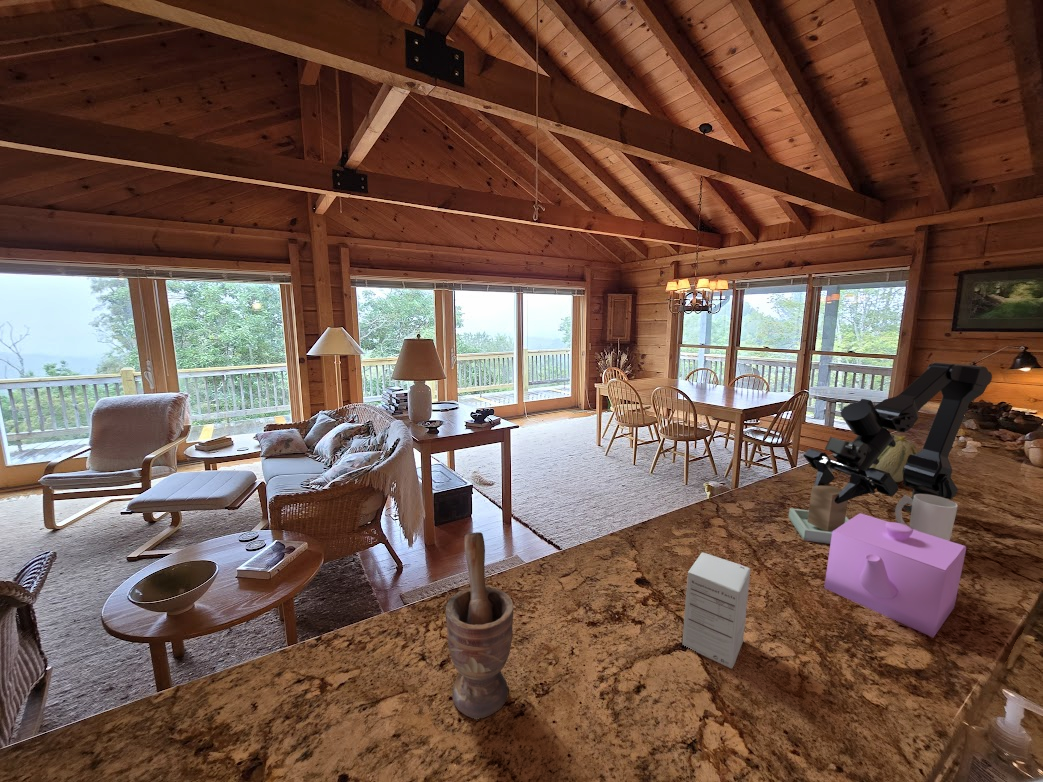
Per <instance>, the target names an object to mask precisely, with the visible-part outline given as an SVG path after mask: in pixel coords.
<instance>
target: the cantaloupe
mask: <svg viewBox="0 0 1043 782" xmlns="http://www.w3.org/2000/svg"><path fill="white" fill-rule="evenodd" d="M891 435H894V440H895V442H896V445H895V447H892V446H887V447H886V448H885V450H884V451H883V452H882V453H881V454H880V456H879V457H878V458H877V459H878V460H879V463H878V464H877V465H875V464H872V465H871V466H870V468H875V469H878V470H882V471H885V472H888V473H890V475H891V476H892V478H893V479H894V481H895V482H896V483H902V482H903V469H904V466H905V465H906V463H907V459H908V456H909V455H911V454H914V455H915V454H917V453H918V452H920V451H919V449H918V447H917V446H916V445H914V443H913V442H911V441H910V440H908V439H907V438H908V437H907V435H902V436H900V435H896V434H892V433H891Z"/></svg>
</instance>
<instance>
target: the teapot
mask: <svg viewBox="0 0 1043 782" xmlns="http://www.w3.org/2000/svg"><path fill="white" fill-rule="evenodd" d="M906 525H907V524H906ZM906 525H903V524H900V523H897V522H894V521H893V522H891V521H886V520H884V519H880V518H877V517H875V516H871V515H868V514H865V513H861V512H859V513H858V514H857V515H855V516H854V517H852V518H850V519H849V521H847V522H846V523H844V524H843V525H841V526H840V527H838V528H837V529H835V530H833V531H832V537H831V544H829V551H828V559H827V567H826V573H825V580H824V586H823V587H824V589H825V590H827V591H830V592H832V593H834V594H836V595H839V596H841V597H843V598H845V599H848V600H849V601H852V602H854V603H856V604H858V605H859V606H863V607H865V608H867V609H869V610H871V611H874V612H875V613H878V614H880V615H882V616H884V617H886V618H889V619H891V620H893V621H895V620H896V621H895V622H897V623H900V624H901V625H904V626H906V627H907V628H911V629H913V630H915V631H917V632H919V633H922V634H924V635H926V636H928V637H931V638H933V639H934V637H935V636H936V634H937V633H938V632H939V630H940V629H941V627H942V626H943V624H945V622H946V620H947V619H948V617H949V615H951V613H952V612H953V610H954V609H955V606H956V601H957V596H958V592H959V591H958V590H959V585H960V580H961V576H962V571H963V566H964V562H965V561H964V560H965V556H966V551H967V546H966V545H964V544H963V545H962V544H960V543H957V542H953V541H951V540H950V541H948V540H945V539H941V538H938V537H935V536H932V535H929V534H926V533H922V532H919V531H917V530H914V529H912V528H910V527H908V526H909V525H908V526H906Z"/></svg>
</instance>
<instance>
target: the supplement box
mask: <svg viewBox="0 0 1043 782" xmlns="http://www.w3.org/2000/svg"><path fill="white" fill-rule="evenodd" d="M751 571H752V570H751V568H750V567H748V566H745V565H742V564H740V563H736V562H733V561H730V560H728V559H724V558H720V557H719V556H715V555H713V554H708V553H706V552H703V551H702V552H701V553H700V554H699V556H698V557H697V558H696V560H695V562H694V563H693V564H692V566H691V567H690V569H689V570H688V572H687V579H686V580H687V581H686V582H687V583H686V593H685V605H684V607H685V608H684V618H683V632H682V646H683V645H684V647H685V646H686V648H687V647H688V648H687V649H689V648H690V649H689V650H691V649H692V650H691V651H693V650H694V652H695V651H696V652H695V653H697V654H699V655H701V656H703V657H706V658H708V659H710V660H712V661H714V662H716V663H719V664H721V665H722V666H725V667H727V668H729V669H733V668H734V665H735V664H736V661H737V658H738V656H739V653H740V650H741V648H742V645H743V643H744V640H745V639H744V637H745V628H746V627H745V626H746V619H747V617H746V615H747V609H748V608H747V607H748V601H749V600H748V597H749V591H750V590H749V588H750V580H751V579H750V578H751Z"/></svg>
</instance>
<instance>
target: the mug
mask: <svg viewBox="0 0 1043 782" xmlns="http://www.w3.org/2000/svg"><path fill="white" fill-rule="evenodd" d="M907 504H909V505H912V510H911V513H910V517H909V518H910V519H909V525H908V524H907V523H906V522H905V521H904V519H903V515H902V510H903V508H904V507H903V506H904V505H907ZM958 505H959V504H958V503H956V502H955V501H953V500H952V499H946V498H942V497H939V496H934V495H928V494H915V495H914V498H913V499H912V496H908V495H907V494H903V495H902V497H901V498H900V500H899V501H898V502H897V504H896V506H895V509H894V512H895V513H894V515H895V519H896V523H900V524H903V525H906V526H908V527H910V528H912V529H914V530H917V531H919V532H922V533H926V534H929V535H932V536H935V537H938V538H941V539H945V540H948V541H951V537H952V533H953V529H954V524H955V519H956V515H957V512H958Z"/></svg>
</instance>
